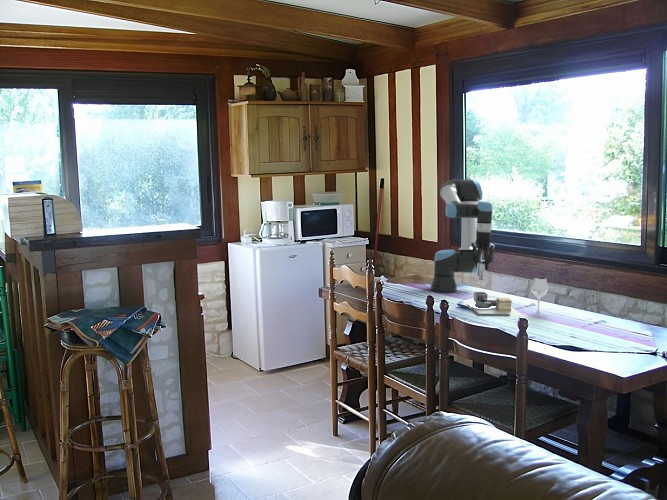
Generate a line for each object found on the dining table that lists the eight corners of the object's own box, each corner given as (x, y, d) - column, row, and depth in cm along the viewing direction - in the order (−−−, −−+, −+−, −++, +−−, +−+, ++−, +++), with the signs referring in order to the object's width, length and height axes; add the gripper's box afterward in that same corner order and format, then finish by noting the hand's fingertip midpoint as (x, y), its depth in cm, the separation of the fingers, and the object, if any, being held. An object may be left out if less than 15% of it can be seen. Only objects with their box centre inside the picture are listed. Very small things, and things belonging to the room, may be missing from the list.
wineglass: (526, 312, 351) (528, 277, 348) (534, 310, 357) (536, 275, 354) (541, 315, 345) (544, 280, 343) (549, 313, 351) (551, 278, 349)
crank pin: (477, 278, 365) (478, 260, 363) (483, 278, 365) (484, 260, 363) (479, 279, 362) (480, 260, 360) (485, 280, 362) (486, 261, 360)
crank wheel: (471, 302, 368) (471, 291, 367) (504, 303, 368) (505, 292, 368) (477, 308, 354) (477, 297, 353) (512, 309, 355) (512, 297, 354)
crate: (495, 309, 356) (496, 297, 355) (507, 309, 356) (508, 297, 355) (498, 311, 350) (499, 300, 349) (510, 311, 350) (511, 300, 349)
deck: (465, 304, 369) (465, 301, 368) (508, 304, 369) (508, 302, 369) (477, 317, 340) (477, 314, 340) (524, 317, 340) (524, 314, 340)
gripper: (466, 230, 363) (464, 274, 366) (493, 233, 352) (491, 278, 355) (474, 229, 368) (472, 273, 371) (501, 232, 357) (498, 277, 360)
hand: (481, 275), depth 363 cm, fingers closed on crank pin, 3 cm apart
